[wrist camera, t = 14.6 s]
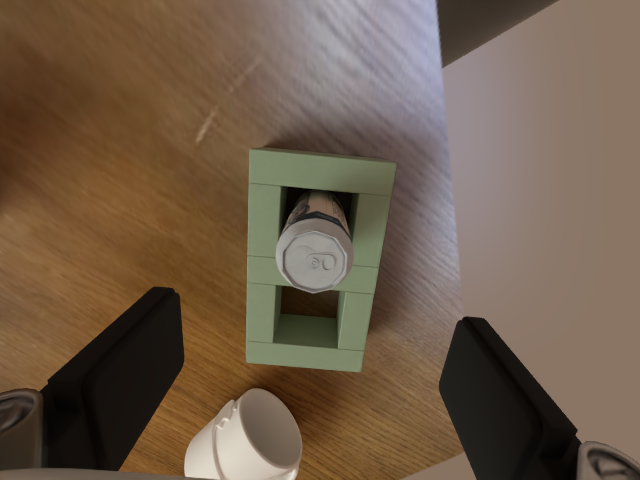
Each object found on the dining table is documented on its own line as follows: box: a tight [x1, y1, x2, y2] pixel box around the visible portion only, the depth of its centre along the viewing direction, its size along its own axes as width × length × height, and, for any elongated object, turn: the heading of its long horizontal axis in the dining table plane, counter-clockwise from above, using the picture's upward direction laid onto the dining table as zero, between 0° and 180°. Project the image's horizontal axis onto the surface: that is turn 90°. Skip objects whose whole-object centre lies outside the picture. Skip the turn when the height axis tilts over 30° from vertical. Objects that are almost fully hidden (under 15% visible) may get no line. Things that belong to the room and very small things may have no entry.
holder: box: [246, 147, 397, 372], centre depth 28 cm, size 20×11×5 cm, turn 175°
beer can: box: [275, 189, 354, 293], centre depth 23 cm, size 5×5×12 cm
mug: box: [184, 388, 302, 480], centre depth 34 cm, size 12×9×8 cm
